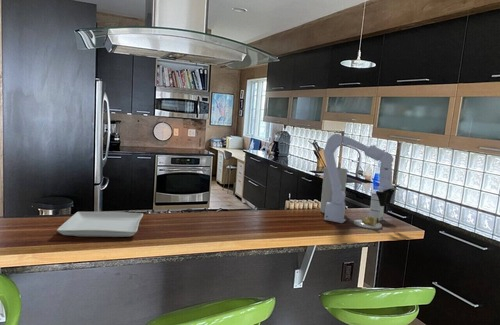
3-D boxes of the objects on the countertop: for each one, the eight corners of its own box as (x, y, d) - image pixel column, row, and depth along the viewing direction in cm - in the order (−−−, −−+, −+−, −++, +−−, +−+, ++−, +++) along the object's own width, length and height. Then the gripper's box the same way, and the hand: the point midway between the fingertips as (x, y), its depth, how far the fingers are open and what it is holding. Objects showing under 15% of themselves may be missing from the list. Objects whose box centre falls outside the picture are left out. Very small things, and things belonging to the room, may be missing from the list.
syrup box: (379, 221, 185) (382, 193, 183) (368, 218, 188) (371, 192, 187) (383, 219, 189) (386, 192, 188) (372, 217, 193) (374, 191, 192)
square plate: (55, 240, 123) (55, 229, 123) (77, 219, 150) (77, 210, 149) (136, 240, 128) (136, 230, 128) (143, 220, 155) (143, 212, 155)
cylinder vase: (339, 216, 188) (343, 170, 186) (316, 212, 194) (321, 167, 192) (345, 212, 199) (350, 169, 196) (324, 208, 205) (328, 166, 203)
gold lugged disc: (359, 223, 170) (360, 215, 170) (362, 220, 177) (363, 212, 177) (375, 226, 167) (376, 218, 166) (378, 223, 174) (379, 215, 174)
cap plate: (351, 225, 171) (351, 218, 171) (357, 220, 182) (357, 213, 182) (379, 231, 165) (380, 223, 164) (383, 225, 176) (384, 218, 176)
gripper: (389, 179, 162) (388, 208, 163) (398, 176, 174) (398, 203, 175) (374, 178, 167) (373, 206, 168) (384, 175, 178) (383, 202, 179)
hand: (385, 204), depth 171 cm, fingers open, 7 cm apart
